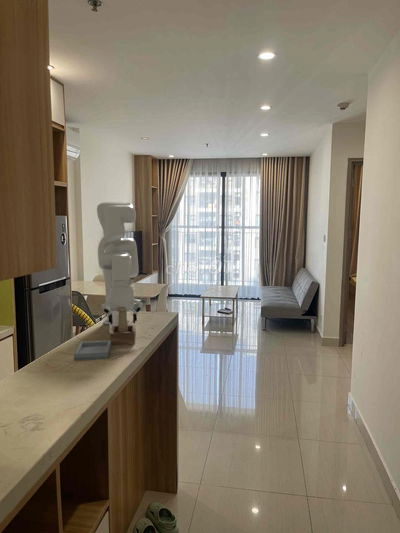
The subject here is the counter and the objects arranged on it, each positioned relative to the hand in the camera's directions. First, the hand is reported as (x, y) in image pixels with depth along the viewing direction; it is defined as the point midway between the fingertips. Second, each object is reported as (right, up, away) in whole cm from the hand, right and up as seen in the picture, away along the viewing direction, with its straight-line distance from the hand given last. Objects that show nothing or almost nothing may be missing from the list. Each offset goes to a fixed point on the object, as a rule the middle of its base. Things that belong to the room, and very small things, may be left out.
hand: (122, 323), depth 166 cm
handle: (0, -8, +1) cm, 8 cm away
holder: (0, -8, +1) cm, 8 cm away
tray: (-9, -10, -14) cm, 19 cm away
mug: (-3, -6, +14) cm, 16 cm away
